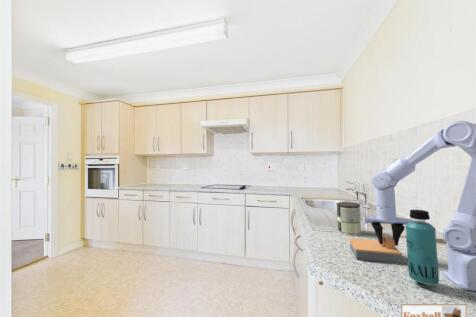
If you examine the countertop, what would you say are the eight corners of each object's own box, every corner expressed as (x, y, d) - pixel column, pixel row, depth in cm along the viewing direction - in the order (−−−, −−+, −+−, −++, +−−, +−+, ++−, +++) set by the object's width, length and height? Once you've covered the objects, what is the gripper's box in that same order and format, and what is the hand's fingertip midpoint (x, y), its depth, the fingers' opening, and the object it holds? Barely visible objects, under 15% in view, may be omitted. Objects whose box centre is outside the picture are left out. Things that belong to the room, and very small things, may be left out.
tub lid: (402, 256, 68) (401, 243, 68) (355, 252, 72) (355, 240, 72) (388, 244, 79) (388, 233, 79) (349, 241, 83) (348, 230, 83)
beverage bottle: (424, 277, 59) (419, 207, 60) (448, 291, 53) (442, 212, 54) (402, 278, 59) (397, 208, 60) (423, 292, 52) (418, 212, 53)
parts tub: (401, 263, 68) (400, 254, 68) (356, 259, 72) (356, 250, 72) (388, 251, 78) (388, 243, 78) (350, 247, 82) (350, 240, 82)
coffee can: (333, 231, 104) (331, 203, 105) (348, 228, 108) (346, 201, 109) (350, 237, 95) (349, 206, 96) (366, 234, 99) (364, 204, 99)
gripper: (404, 204, 76) (407, 242, 75) (360, 203, 81) (362, 238, 80) (414, 208, 69) (417, 249, 69) (365, 206, 74) (367, 245, 73)
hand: (388, 244), depth 74 cm, fingers open, 4 cm apart
